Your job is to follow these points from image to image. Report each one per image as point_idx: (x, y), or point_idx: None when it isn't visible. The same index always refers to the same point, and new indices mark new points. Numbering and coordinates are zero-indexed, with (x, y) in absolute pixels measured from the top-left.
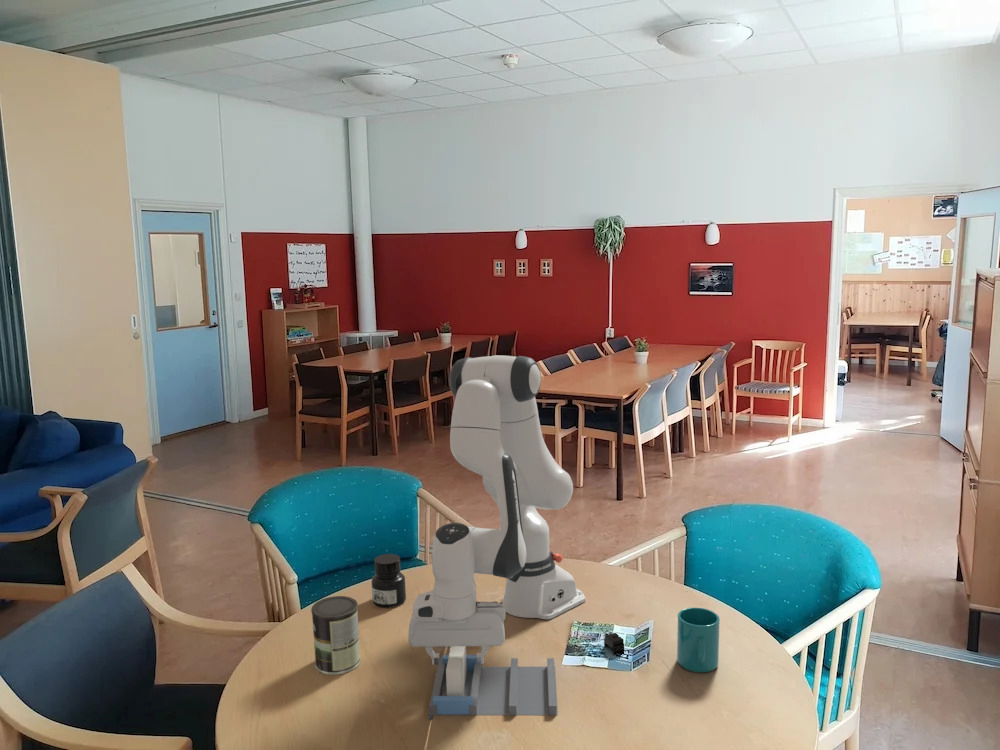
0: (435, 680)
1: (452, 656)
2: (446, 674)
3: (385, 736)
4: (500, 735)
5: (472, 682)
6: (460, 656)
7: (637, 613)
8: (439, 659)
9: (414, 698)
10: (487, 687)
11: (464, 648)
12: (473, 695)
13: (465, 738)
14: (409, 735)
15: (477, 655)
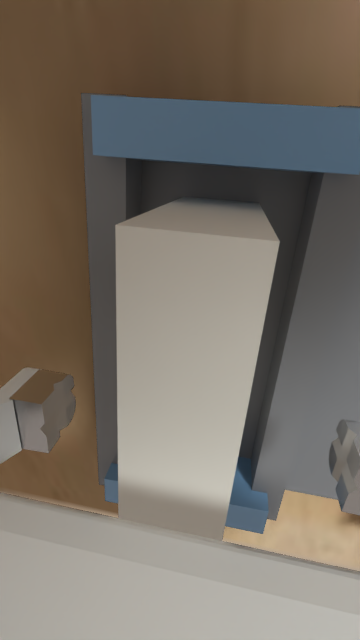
0: (95, 337)
1: (146, 486)
2: None
3: (12, 480)
4: (335, 543)
5: (279, 378)
6: (209, 499)
7: None
8: (65, 387)
9: (43, 330)
10: (351, 339)
11: (251, 382)
12: (271, 464)
13: (227, 530)
14: (72, 489)
15: (357, 492)
